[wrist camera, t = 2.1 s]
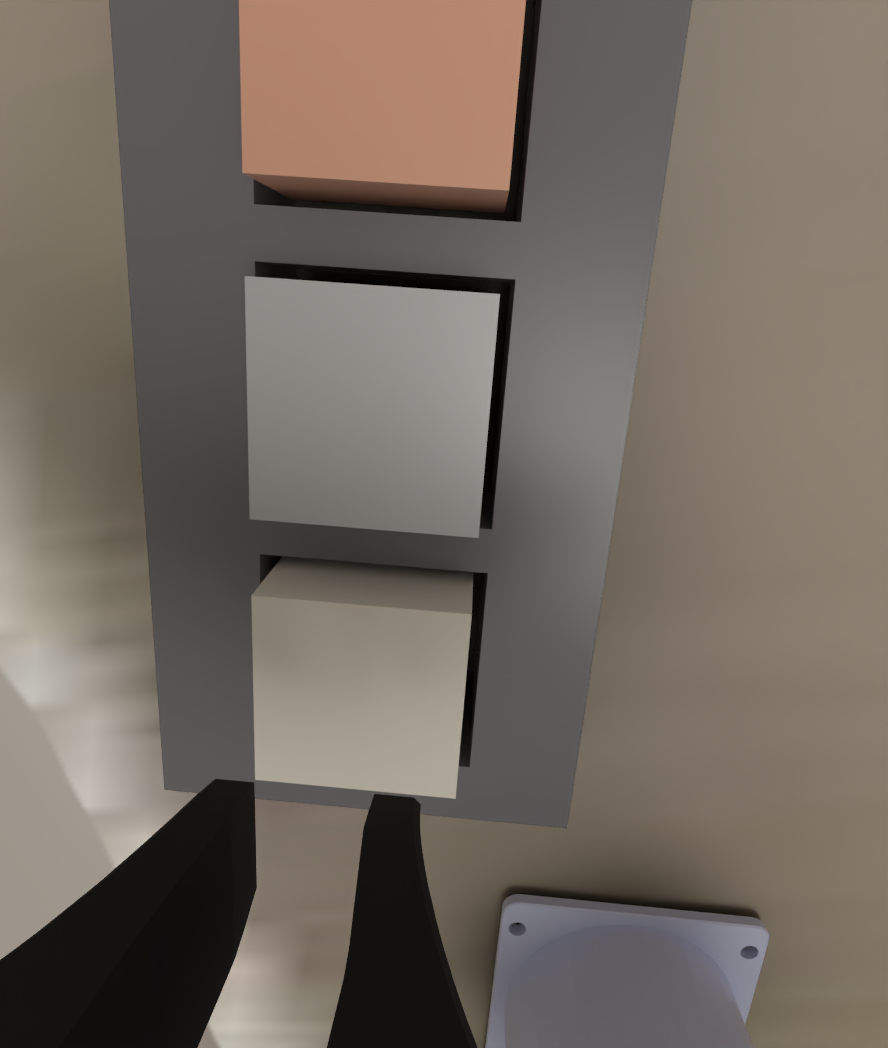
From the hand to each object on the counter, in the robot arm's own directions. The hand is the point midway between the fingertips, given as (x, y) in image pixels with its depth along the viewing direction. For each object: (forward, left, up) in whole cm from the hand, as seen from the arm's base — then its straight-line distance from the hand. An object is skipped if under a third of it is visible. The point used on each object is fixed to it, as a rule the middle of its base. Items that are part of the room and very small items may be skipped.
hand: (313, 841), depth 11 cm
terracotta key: (+12, 0, -7) cm, 14 cm away
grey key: (+6, 0, -7) cm, 9 cm away
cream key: (0, 0, -7) cm, 7 cm away
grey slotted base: (+6, 0, -8) cm, 10 cm away
